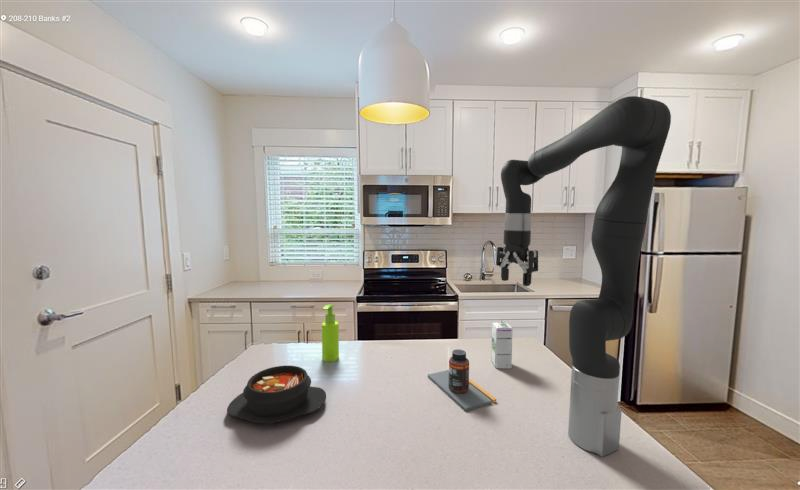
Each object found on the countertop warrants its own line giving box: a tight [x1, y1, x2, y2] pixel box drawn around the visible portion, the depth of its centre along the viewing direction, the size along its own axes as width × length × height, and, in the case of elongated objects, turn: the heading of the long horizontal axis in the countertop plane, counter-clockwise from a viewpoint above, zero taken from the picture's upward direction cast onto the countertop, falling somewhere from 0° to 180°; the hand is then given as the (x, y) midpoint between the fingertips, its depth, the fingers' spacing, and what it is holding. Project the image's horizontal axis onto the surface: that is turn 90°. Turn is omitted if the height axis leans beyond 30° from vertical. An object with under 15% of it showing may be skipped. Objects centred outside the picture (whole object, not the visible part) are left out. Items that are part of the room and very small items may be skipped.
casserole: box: [226, 365, 327, 424], centre depth 84 cm, size 25×19×8 cm
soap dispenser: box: [321, 303, 340, 363], centre depth 114 cm, size 6×7×20 cm
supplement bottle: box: [448, 348, 470, 393], centre depth 93 cm, size 6×6×11 cm
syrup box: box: [490, 321, 513, 370], centre depth 110 cm, size 6×6×14 cm
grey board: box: [427, 369, 497, 412], centre depth 95 cm, size 20×11×1 cm, turn 25°
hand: (515, 283), depth 94 cm, fingers open, 8 cm apart
